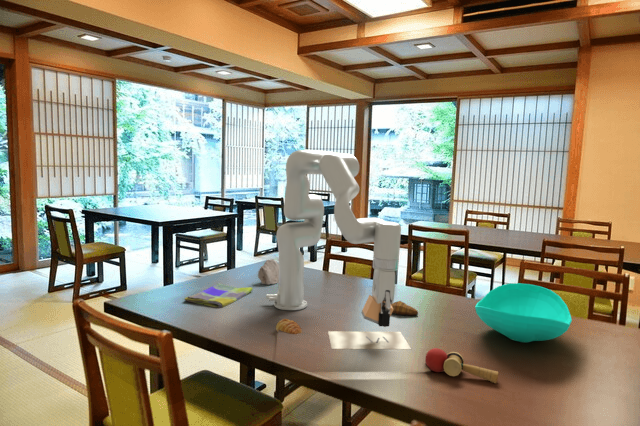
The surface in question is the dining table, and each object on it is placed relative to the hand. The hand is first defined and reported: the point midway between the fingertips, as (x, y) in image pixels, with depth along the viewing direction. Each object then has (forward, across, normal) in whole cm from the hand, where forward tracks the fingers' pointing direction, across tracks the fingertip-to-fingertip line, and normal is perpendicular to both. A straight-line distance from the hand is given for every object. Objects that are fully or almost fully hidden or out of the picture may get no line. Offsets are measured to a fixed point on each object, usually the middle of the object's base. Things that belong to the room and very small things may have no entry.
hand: (381, 321), depth 130 cm
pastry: (+8, -8, -28) cm, 30 cm away
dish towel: (+10, -46, -56) cm, 73 cm away
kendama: (+7, +20, +17) cm, 27 cm away
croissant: (+8, -28, +13) cm, 31 cm away
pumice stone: (+9, -69, -36) cm, 79 cm away
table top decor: (+7, -5, +46) cm, 47 cm away
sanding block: (-1, 0, -3) cm, 3 cm away
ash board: (+7, +1, -4) cm, 8 cm away
